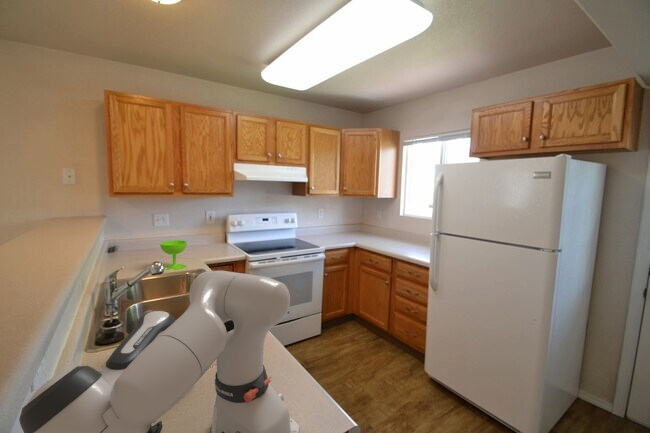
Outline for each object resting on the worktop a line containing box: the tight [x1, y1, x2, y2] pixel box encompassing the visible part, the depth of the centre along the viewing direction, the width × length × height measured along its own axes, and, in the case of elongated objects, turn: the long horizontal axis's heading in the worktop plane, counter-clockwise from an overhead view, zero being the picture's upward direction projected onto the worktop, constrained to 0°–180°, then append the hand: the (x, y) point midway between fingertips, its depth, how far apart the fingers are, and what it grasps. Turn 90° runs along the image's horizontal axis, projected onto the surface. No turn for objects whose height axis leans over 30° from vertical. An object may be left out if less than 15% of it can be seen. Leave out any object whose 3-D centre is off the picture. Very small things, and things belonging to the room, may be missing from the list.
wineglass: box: [159, 239, 188, 270], centre depth 200 cm, size 16×16×18 cm
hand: (148, 328), depth 105 cm, fingers closed on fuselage, 4 cm apart
